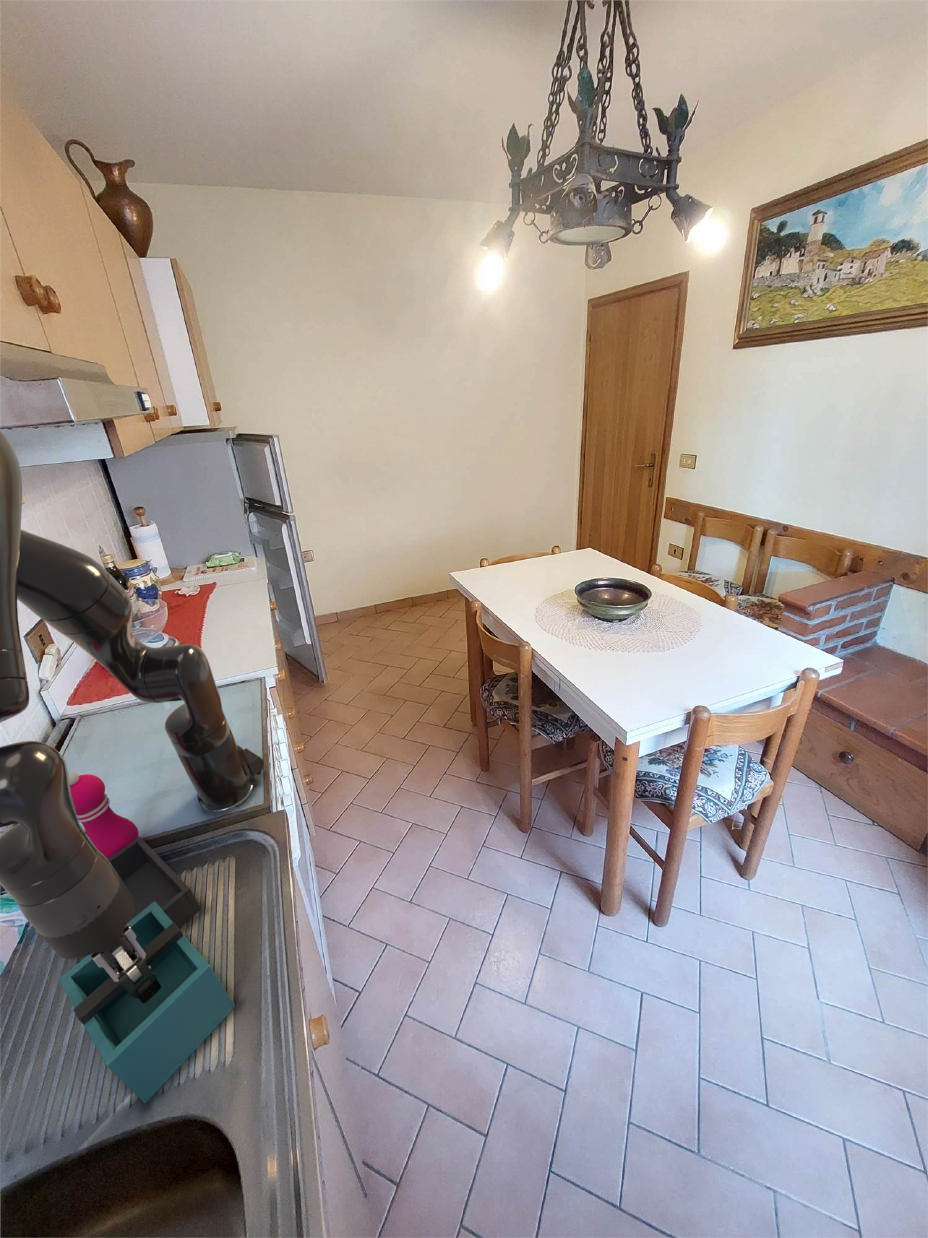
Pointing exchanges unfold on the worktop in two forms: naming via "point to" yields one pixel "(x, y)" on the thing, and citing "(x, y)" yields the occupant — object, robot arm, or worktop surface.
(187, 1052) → the teal tote
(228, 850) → the worktop surface
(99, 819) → the pepper mill
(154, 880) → the charcoal bin
